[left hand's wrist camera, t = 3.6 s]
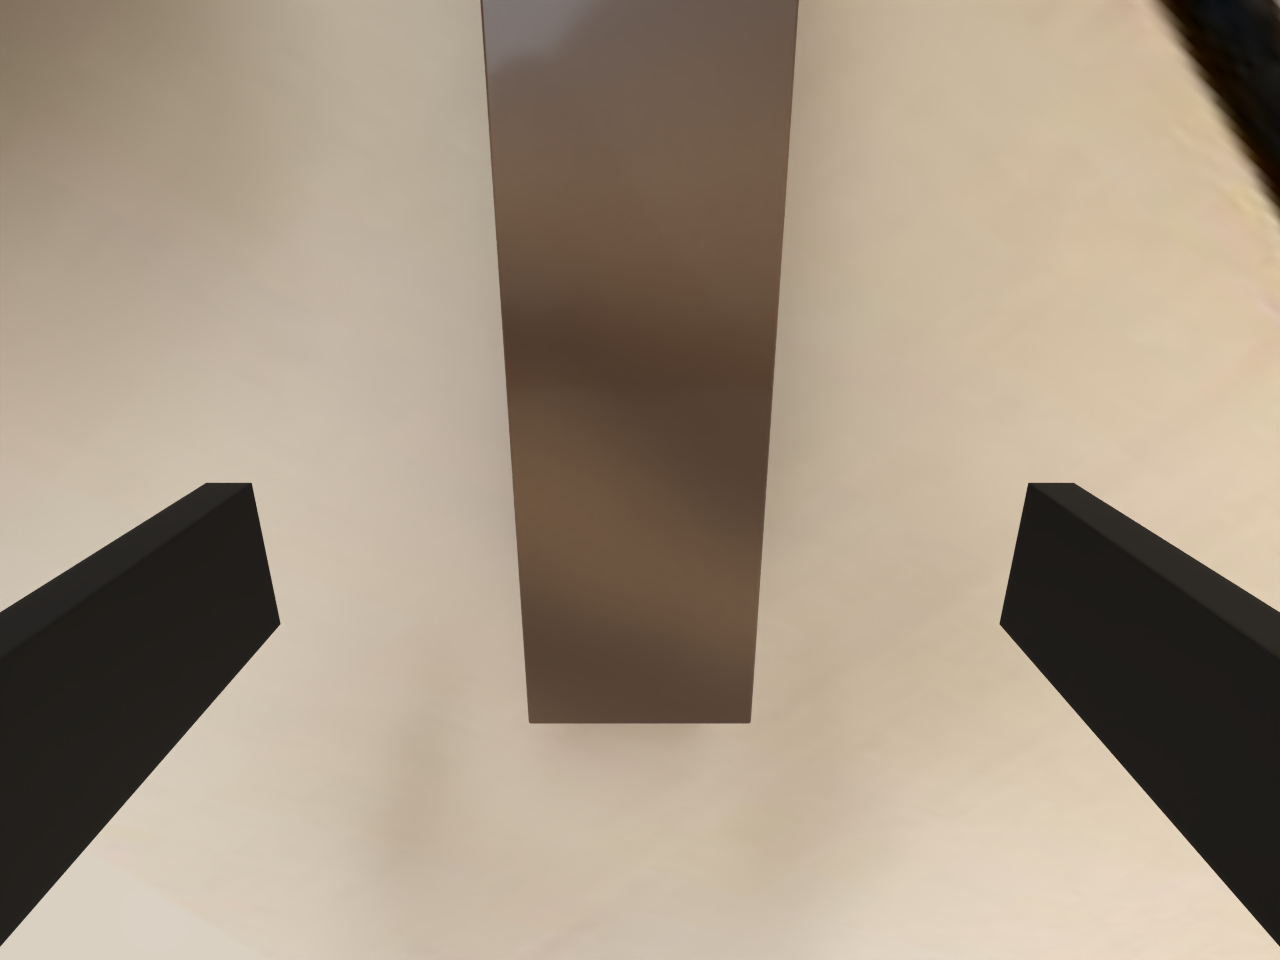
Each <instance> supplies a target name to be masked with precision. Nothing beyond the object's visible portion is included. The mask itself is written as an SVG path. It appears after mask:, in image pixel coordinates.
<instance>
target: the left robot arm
mask: <svg viewBox="0 0 1280 960" xmlns="http://www.w3.org/2000/svg"><path fill="white" fill-rule="evenodd" d="M279 625H280V619H279V614H278V610H277V605H276V600H275V595H274V590H273V585H272V580H271V575H270V571H269V566H268V561H267V556H266V551H265V546H264V541H263V536H262V531H261V527H260V522H259V517H258V512H257V507H256V502H255V497H254V492H253V487H252V483H205V484H204V485H202V486H201V487H199V488H197V489H196V490H194V491H193V492H191V493H189V494H188V495H186V496H185V497H183V498H182V499H180V500H178V501H177V502H175V503H174V504H172V505H170V506H169V507H167V508H166V509H164V510H162V511H161V512H159V513H158V514H156V515H154V516H153V517H151V518H150V519H148V520H147V521H145V522H143V523H142V524H140V525H139V526H137V527H135V528H134V529H132V530H131V531H129V532H127V533H126V534H124V535H123V536H121V537H119V538H118V539H116V540H115V541H113V542H111V543H110V544H108V545H107V546H105V547H104V548H102V549H100V550H99V551H97V552H96V553H94V554H92V555H91V556H89V557H88V558H86V559H84V560H83V561H81V562H80V563H78V564H76V565H75V566H73V567H72V568H70V569H69V570H67V571H65V572H64V573H62V574H61V575H59V576H57V577H56V578H54V579H53V580H51V581H49V582H48V583H46V584H45V585H43V586H41V587H40V588H38V589H37V590H35V591H34V592H32V593H30V594H29V595H27V596H26V597H24V598H22V599H21V600H19V601H18V602H16V603H14V604H13V605H11V606H10V607H8V608H6V609H5V610H3V611H2V612H0V946H1V945H2V944H3V943H4V942H5V940H6V939H7V938H8V937H9V936H10V935H11V934H12V932H13V931H14V930H15V929H16V928H17V927H18V925H19V924H20V923H21V922H22V921H23V920H24V919H25V917H26V916H27V915H28V914H29V913H30V912H31V911H32V909H33V908H34V907H35V906H36V905H37V904H38V902H39V901H40V900H41V899H42V898H43V897H44V896H45V894H46V893H47V892H48V891H49V890H50V889H51V888H52V886H53V885H54V884H55V883H56V882H57V881H58V879H59V878H60V877H61V876H62V875H63V874H64V873H65V871H66V870H67V869H68V868H69V867H70V866H71V864H72V863H73V862H74V861H75V860H76V859H77V858H78V856H79V855H80V854H81V853H82V852H83V851H84V850H85V848H86V847H87V846H88V845H89V844H90V843H91V842H92V840H93V839H94V838H95V837H96V836H97V835H98V833H99V832H100V831H101V830H102V829H103V828H104V827H105V825H106V824H107V823H108V822H109V821H110V820H111V819H112V817H113V816H114V815H115V814H116V813H117V812H118V810H119V809H120V808H121V807H122V806H123V805H124V804H125V802H126V801H127V800H128V799H129V798H130V797H131V795H132V794H133V793H134V792H135V791H136V790H137V789H138V787H139V786H140V785H141V784H142V783H143V782H144V781H145V779H146V778H147V777H148V776H149V775H150V774H151V772H152V771H153V770H154V769H155V768H156V767H157V766H158V764H159V763H160V762H161V761H162V760H163V759H164V758H165V756H166V755H167V754H168V753H169V752H170V751H171V749H172V748H173V747H174V746H175V745H176V744H177V743H178V741H179V740H180V739H181V738H182V737H183V736H184V735H185V733H186V732H187V731H188V730H189V729H190V728H191V726H192V725H193V724H194V723H195V722H196V721H197V720H198V718H199V717H200V716H201V715H202V714H203V713H204V712H205V710H206V709H207V708H208V707H209V706H210V705H211V703H212V702H213V701H214V700H215V699H216V698H217V697H218V695H219V694H220V693H221V692H222V691H223V690H224V688H225V687H226V686H227V685H228V684H229V683H230V682H231V680H232V679H233V678H234V677H235V676H236V675H237V674H238V672H239V671H240V670H241V669H242V668H243V667H244V665H245V664H246V663H247V662H248V661H249V660H250V659H251V657H252V656H253V655H254V654H255V653H256V652H257V651H258V649H259V648H260V647H261V646H262V645H263V644H264V642H265V641H266V640H267V639H268V638H269V637H270V636H271V634H272V633H273V632H274V631H275V630H276V629H277V628H278V626H279ZM1000 625H1001V626H1002V628H1003V629H1004V630H1005V631H1006V632H1007V633H1008V634H1009V636H1010V637H1011V638H1012V639H1013V640H1014V641H1015V642H1016V644H1017V645H1018V646H1019V647H1020V648H1021V649H1022V651H1023V652H1024V653H1025V654H1026V655H1027V656H1028V657H1029V659H1030V660H1031V661H1032V662H1033V663H1034V664H1035V665H1036V667H1037V668H1038V669H1039V670H1040V671H1041V672H1042V674H1043V675H1044V676H1045V677H1046V678H1047V679H1048V680H1049V682H1050V683H1051V684H1052V685H1053V686H1054V687H1055V688H1056V690H1057V691H1058V692H1059V693H1060V694H1061V695H1062V697H1063V698H1064V699H1065V700H1066V701H1067V702H1068V703H1069V705H1070V706H1071V707H1072V708H1073V709H1074V710H1075V712H1076V713H1077V714H1078V715H1079V716H1080V717H1081V718H1082V720H1083V721H1084V722H1085V723H1086V724H1087V725H1088V726H1089V728H1090V729H1091V730H1092V731H1093V732H1094V733H1095V735H1096V736H1097V737H1098V738H1099V739H1100V740H1101V741H1102V743H1103V744H1104V745H1105V746H1106V747H1107V748H1108V749H1109V751H1110V752H1111V753H1112V754H1113V755H1114V756H1115V758H1116V759H1117V760H1118V761H1119V762H1120V763H1121V764H1122V766H1123V767H1124V768H1125V769H1126V770H1127V771H1128V772H1129V774H1130V775H1131V776H1132V777H1133V778H1134V779H1135V781H1136V782H1137V783H1138V784H1139V785H1140V786H1141V787H1142V789H1143V790H1144V791H1145V792H1146V793H1147V794H1148V795H1149V797H1150V798H1151V799H1152V800H1153V801H1154V802H1155V804H1156V805H1157V806H1158V807H1159V808H1160V809H1161V810H1162V812H1163V813H1164V814H1165V815H1166V816H1167V817H1168V819H1169V820H1170V821H1171V822H1172V823H1173V824H1174V825H1175V827H1176V828H1177V829H1178V830H1179V831H1180V832H1181V833H1182V835H1183V836H1184V837H1185V838H1186V839H1187V840H1188V842H1189V843H1190V844H1191V845H1192V846H1193V847H1194V848H1195V850H1196V851H1197V852H1198V853H1199V854H1200V855H1201V856H1202V858H1203V859H1204V860H1205V861H1206V862H1207V863H1208V865H1209V866H1210V867H1211V868H1212V869H1213V870H1214V871H1215V873H1216V874H1217V875H1218V876H1219V877H1220V878H1221V879H1222V881H1223V882H1224V883H1225V884H1226V885H1227V886H1228V888H1229V889H1230V890H1231V891H1232V892H1233V893H1234V894H1235V896H1236V897H1237V898H1238V899H1239V900H1240V901H1241V903H1242V904H1243V905H1244V906H1245V907H1246V908H1247V909H1248V911H1249V912H1250V913H1251V914H1252V915H1253V916H1254V917H1255V919H1256V920H1257V921H1258V922H1259V923H1260V924H1261V926H1262V927H1263V928H1264V929H1265V930H1266V931H1267V932H1268V934H1269V935H1270V936H1271V937H1272V938H1273V939H1274V940H1275V942H1276V943H1277V944H1278V945H1279V946H1280V612H1278V611H1277V610H1275V609H1274V608H1272V607H1270V606H1269V605H1267V604H1266V603H1264V602H1262V601H1261V600H1259V599H1258V598H1256V597H1254V596H1253V595H1251V594H1250V593H1248V592H1246V591H1245V590H1243V589H1242V588H1240V587H1239V586H1237V585H1235V584H1234V583H1232V582H1231V581H1229V580H1227V579H1226V578H1224V577H1223V576H1221V575H1219V574H1218V573H1216V572H1215V571H1213V570H1211V569H1210V568H1208V567H1207V566H1205V565H1204V564H1202V563H1200V562H1199V561H1197V560H1196V559H1194V558H1192V557H1191V556H1189V555H1188V554H1186V553H1184V552H1183V551H1181V550H1180V549H1178V548H1176V547H1175V546H1173V545H1172V544H1170V543H1169V542H1167V541H1165V540H1164V539H1162V538H1161V537H1159V536H1157V535H1156V534H1154V533H1153V532H1151V531H1149V530H1148V529H1146V528H1145V527H1143V526H1141V525H1140V524H1138V523H1137V522H1135V521H1133V520H1132V519H1130V518H1129V517H1127V516H1126V515H1124V514H1122V513H1121V512H1119V511H1118V510H1116V509H1114V508H1113V507H1111V506H1110V505H1108V504H1106V503H1105V502H1103V501H1102V500H1100V499H1098V498H1097V497H1095V496H1094V495H1092V494H1091V493H1089V492H1087V491H1086V490H1084V489H1083V488H1081V487H1079V486H1078V485H1076V484H1075V483H1028V487H1027V492H1026V497H1025V502H1024V507H1023V512H1022V517H1021V522H1020V527H1019V531H1018V536H1017V541H1016V546H1015V551H1014V556H1013V561H1012V566H1011V571H1010V575H1009V580H1008V585H1007V590H1006V595H1005V600H1004V605H1003V610H1002V614H1001V619H1000Z"/></svg>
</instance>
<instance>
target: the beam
mask: <svg viewBox="0 0 1280 960" xmlns="http://www.w3.org/2000/svg"><path fill="white" fill-rule="evenodd" d="M480 1H481V16H482V31H483V46H484V61H485V76H486V90H487V105H488V120H489V135H490V150H491V165H492V180H493V195H494V210H495V224H496V239H497V254H498V269H499V284H500V299H501V314H502V329H503V344H504V358H505V373H506V388H507V403H508V418H509V433H510V448H511V463H512V477H513V492H514V507H515V522H516V537H517V552H518V567H519V582H520V597H521V611H522V626H523V641H524V656H525V671H526V686H527V701H528V716H529V723H750V722H751V710H752V695H753V680H754V665H755V650H756V635H757V620H758V605H759V590H760V575H761V560H762V545H763V530H764V515H765V500H766V485H767V470H768V455H769V440H770V425H771V410H772V395H773V380H774V365H775V349H776V334H777V319H778V304H779V289H780V274H781V259H782V244H783V229H784V214H785V199H786V184H787V169H788V154H789V139H790V124H791V109H792V94H793V79H794V64H795V49H796V34H797V19H798V4H799V0H480Z"/></svg>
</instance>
